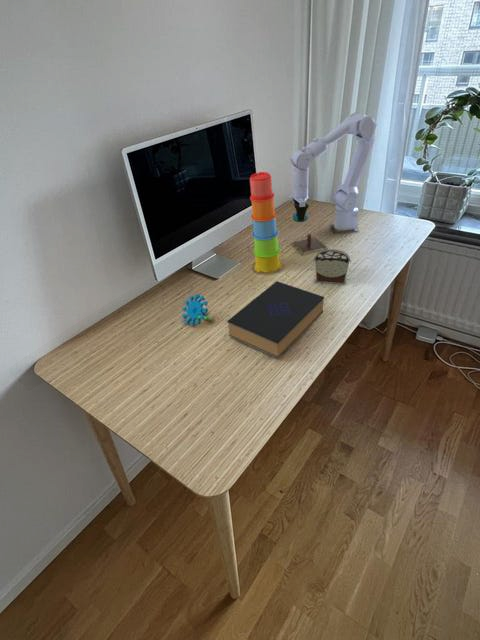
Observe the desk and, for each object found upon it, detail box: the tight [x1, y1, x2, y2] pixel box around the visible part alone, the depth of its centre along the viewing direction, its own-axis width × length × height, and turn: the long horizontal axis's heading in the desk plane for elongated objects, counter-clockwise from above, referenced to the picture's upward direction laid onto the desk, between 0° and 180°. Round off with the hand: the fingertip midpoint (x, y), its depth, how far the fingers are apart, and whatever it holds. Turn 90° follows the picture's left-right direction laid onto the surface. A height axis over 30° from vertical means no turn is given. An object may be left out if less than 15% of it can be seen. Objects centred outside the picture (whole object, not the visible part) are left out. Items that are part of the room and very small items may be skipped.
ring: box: [292, 211, 309, 223], centre depth 156 cm, size 6×6×2 cm
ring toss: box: [292, 233, 327, 254], centre depth 153 cm, size 10×10×5 cm
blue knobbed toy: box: [181, 293, 213, 327], centre depth 120 cm, size 11×6×10 cm
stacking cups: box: [249, 171, 282, 275], centre depth 133 cm, size 10×10×35 cm
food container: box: [312, 248, 352, 285], centre depth 131 cm, size 12×6×10 cm, turn 74°
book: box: [226, 280, 325, 360], centre depth 113 cm, size 17×25×7 cm
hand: (300, 217), depth 156 cm, fingers closed on ring, 5 cm apart
